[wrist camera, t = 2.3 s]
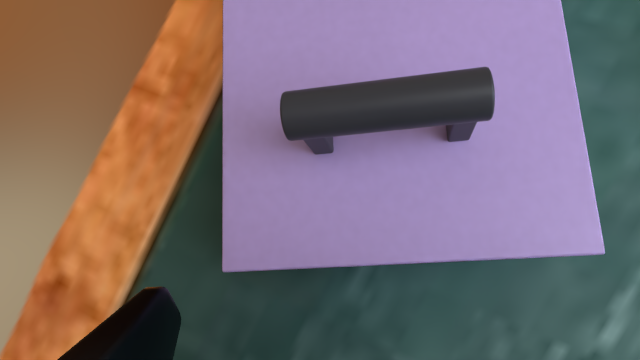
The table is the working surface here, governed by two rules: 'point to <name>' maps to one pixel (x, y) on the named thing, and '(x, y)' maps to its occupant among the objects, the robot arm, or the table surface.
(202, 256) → the table surface
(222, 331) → the table surface
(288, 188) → the purple square slab
